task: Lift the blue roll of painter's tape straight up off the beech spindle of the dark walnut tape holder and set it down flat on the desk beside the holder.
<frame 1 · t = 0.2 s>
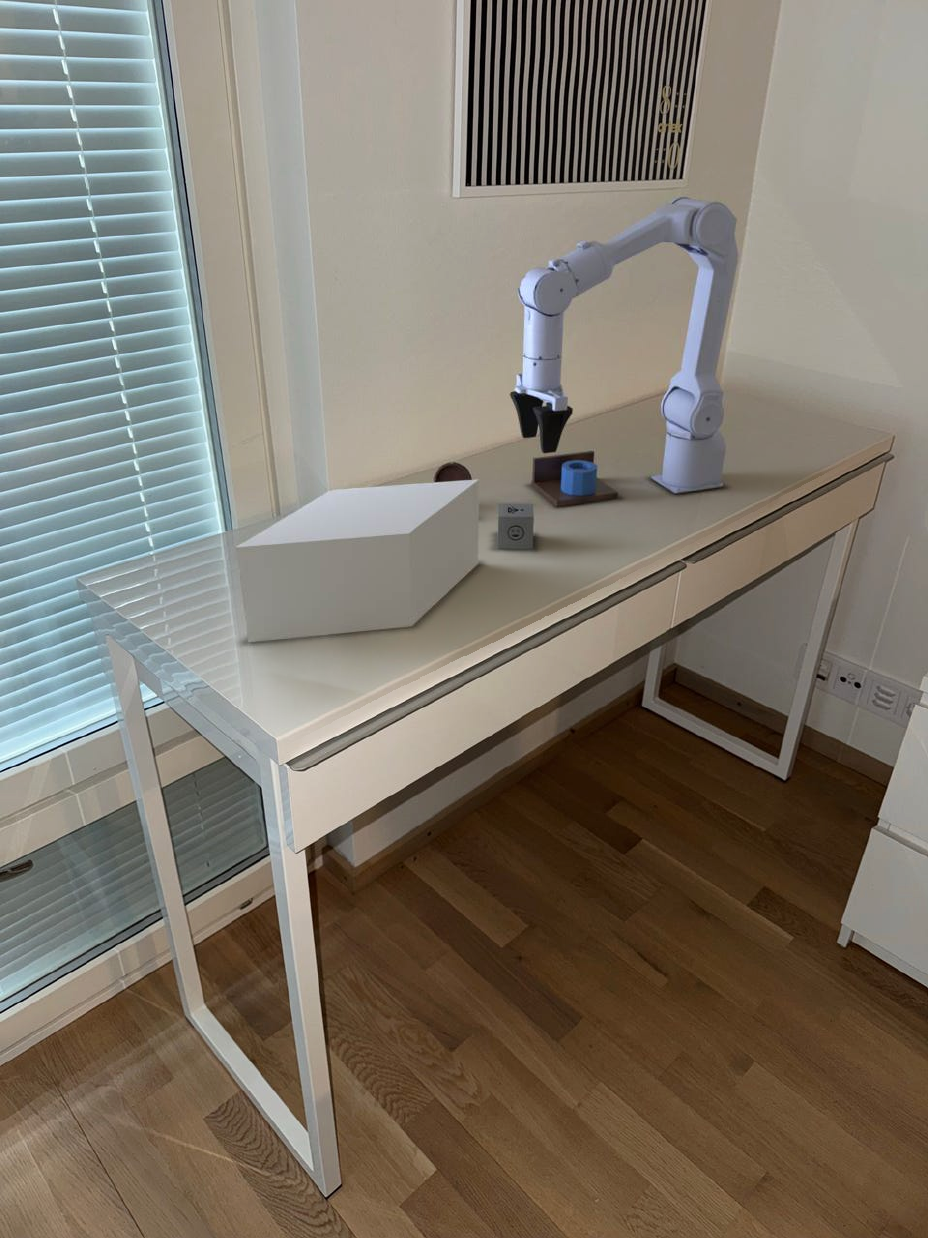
hand: (538, 444, 141), 10 cm above the table, tool pointing down, fingers open, 7 cm apart
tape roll: (578, 489, 149), point 1 cm above the table, touching holder
compass: (452, 515, 142), on the table
block: (372, 601, 117), on the table
dice cube: (514, 543, 133), on the table
holder: (573, 491, 151), on the table
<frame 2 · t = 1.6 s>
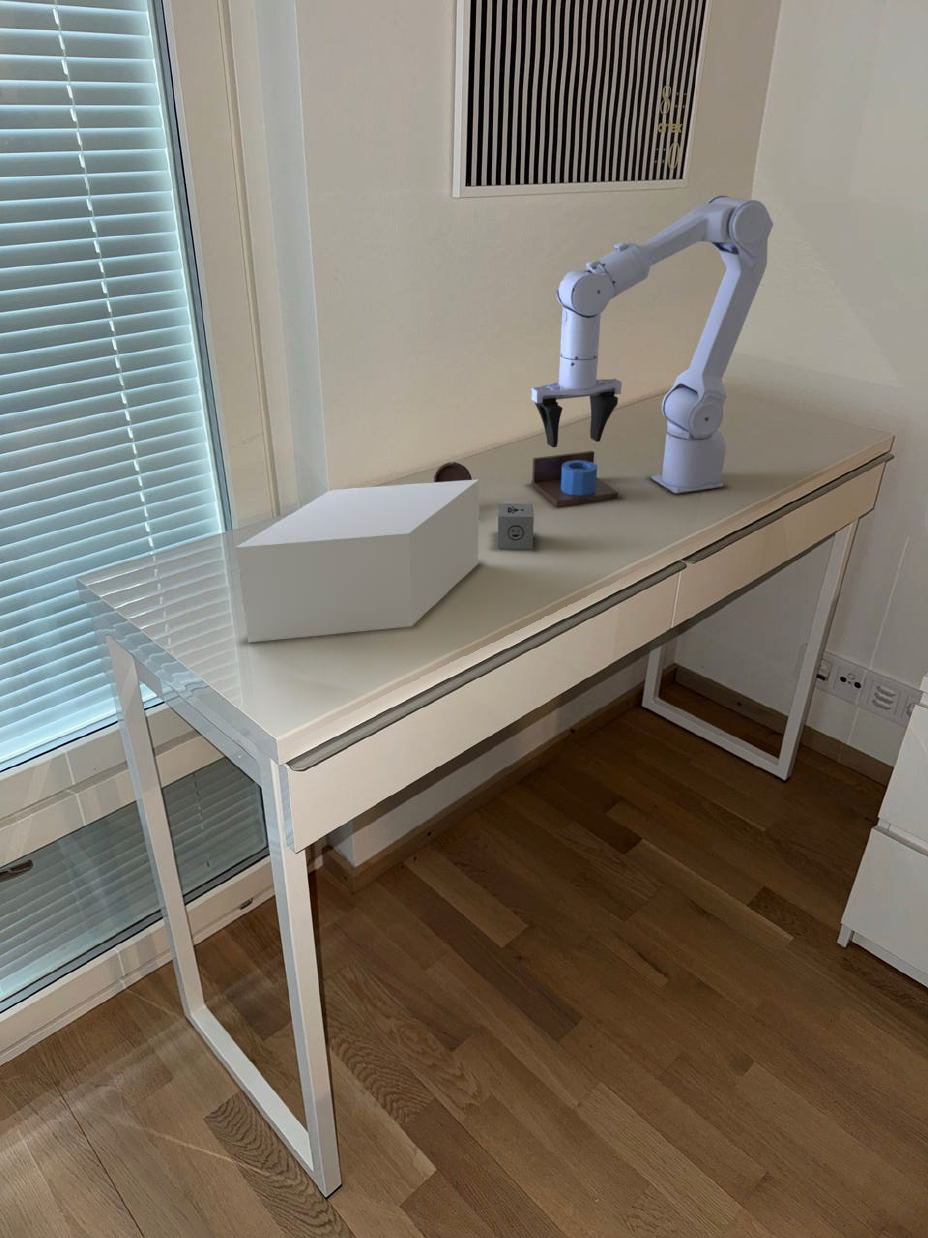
hand: (573, 442, 144), 9 cm above the table, tool pointing down, fingers open, 7 cm apart
nothing on the table moved.
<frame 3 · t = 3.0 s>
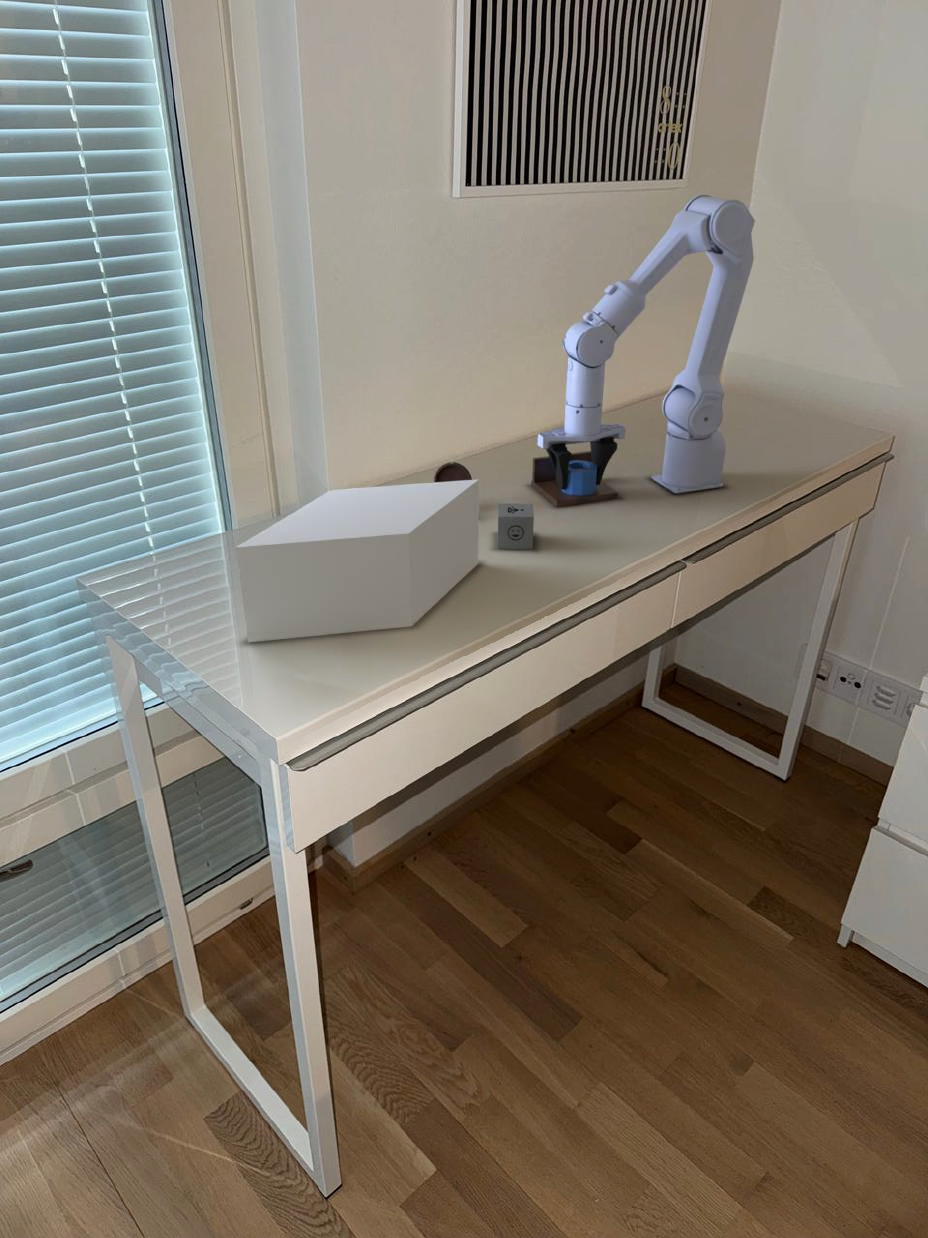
hand: (578, 485, 149), 2 cm above the table, tool pointing down, fingers closed on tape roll, 5 cm apart
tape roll: (578, 489, 149), point 1 cm above the table, touching gripper, holder
everything else where it was.
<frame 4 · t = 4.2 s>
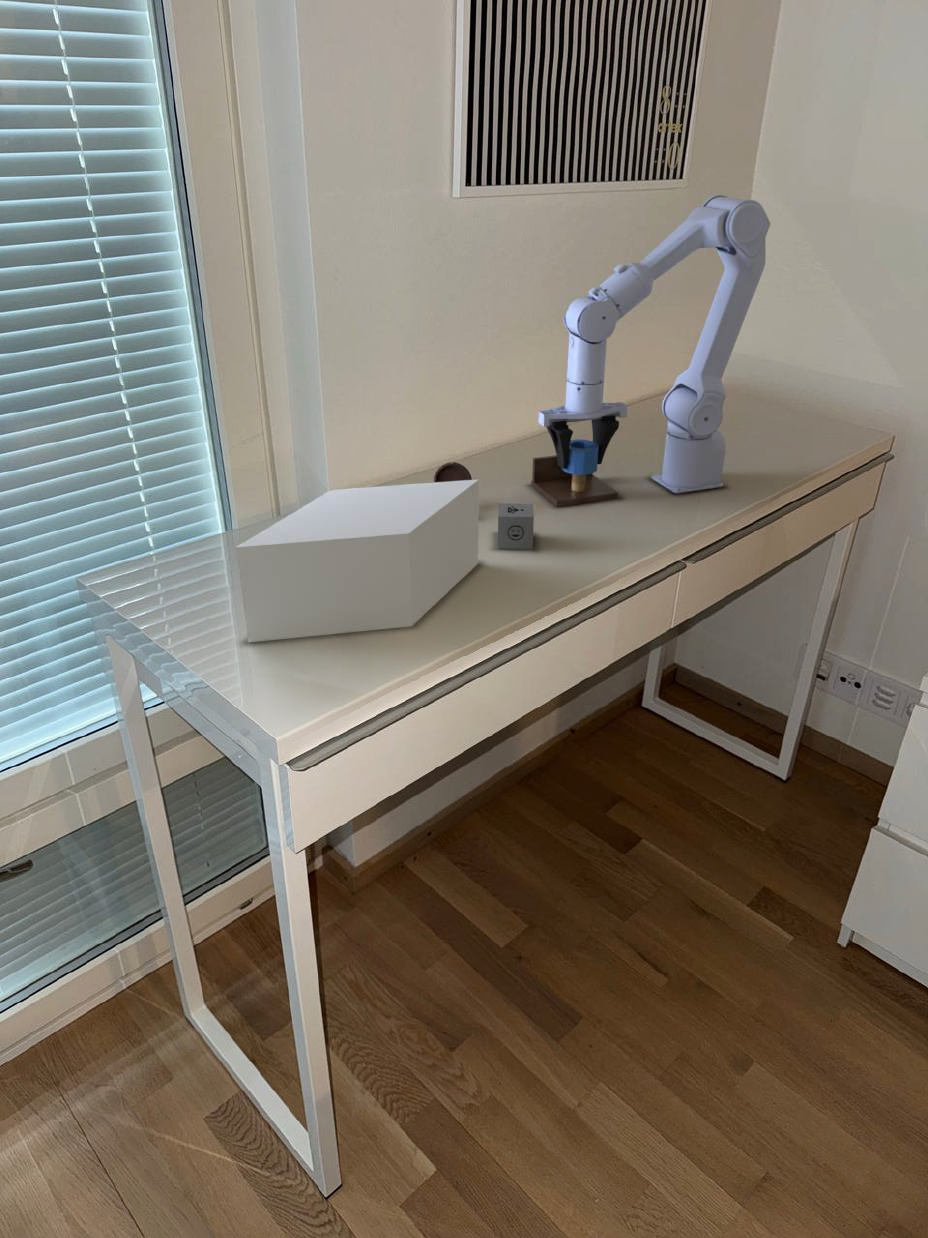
hand: (580, 464, 147), 5 cm above the table, tool pointing down, fingers closed on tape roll, 5 cm apart
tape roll: (579, 468, 147), point 5 cm above the table, touching gripper
everything else where it was.
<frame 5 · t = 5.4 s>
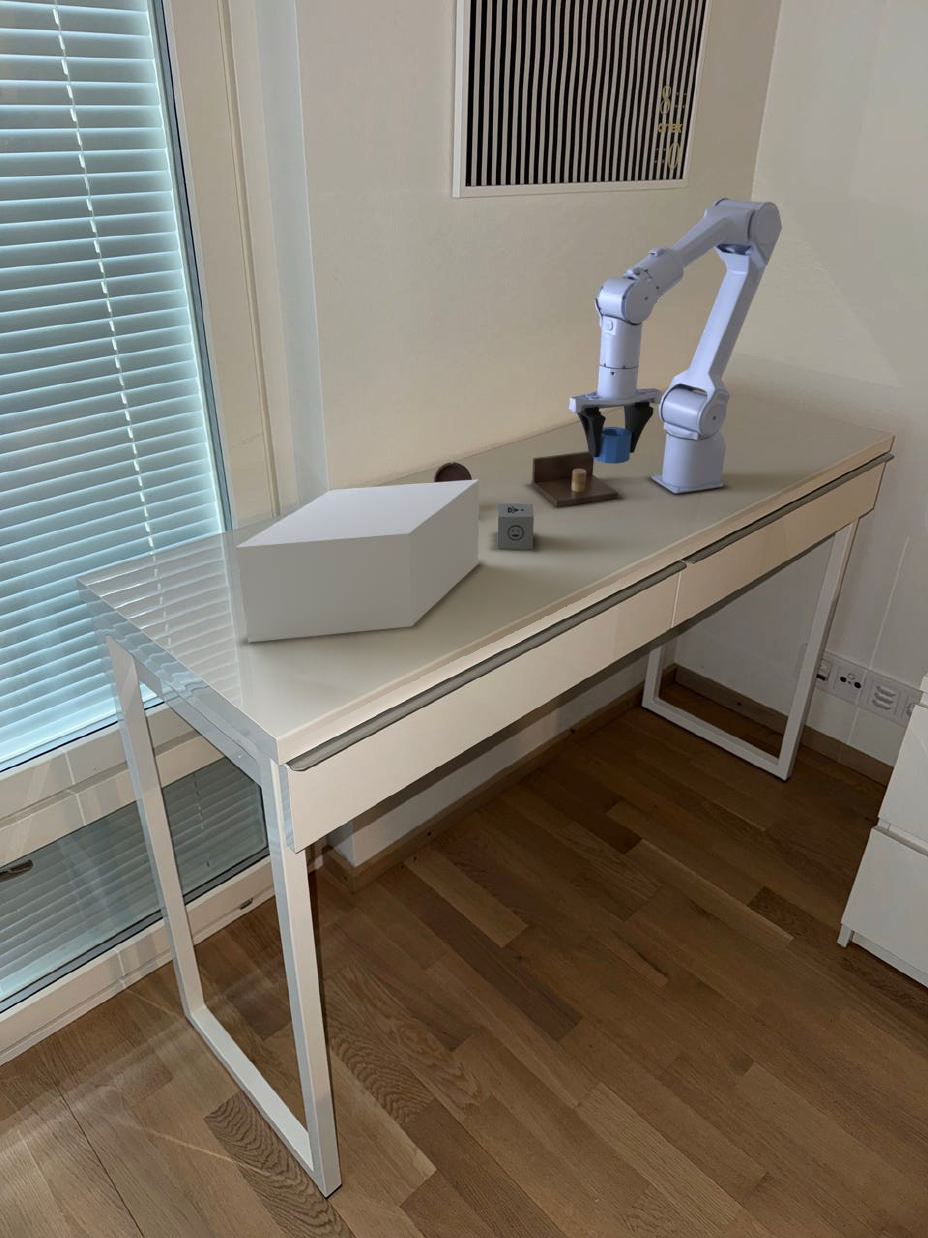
hand: (611, 453, 141), 9 cm above the table, tool pointing down, fingers closed on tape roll, 5 cm apart
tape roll: (611, 457, 141), point 8 cm above the table, touching gripper
everything else where it was.
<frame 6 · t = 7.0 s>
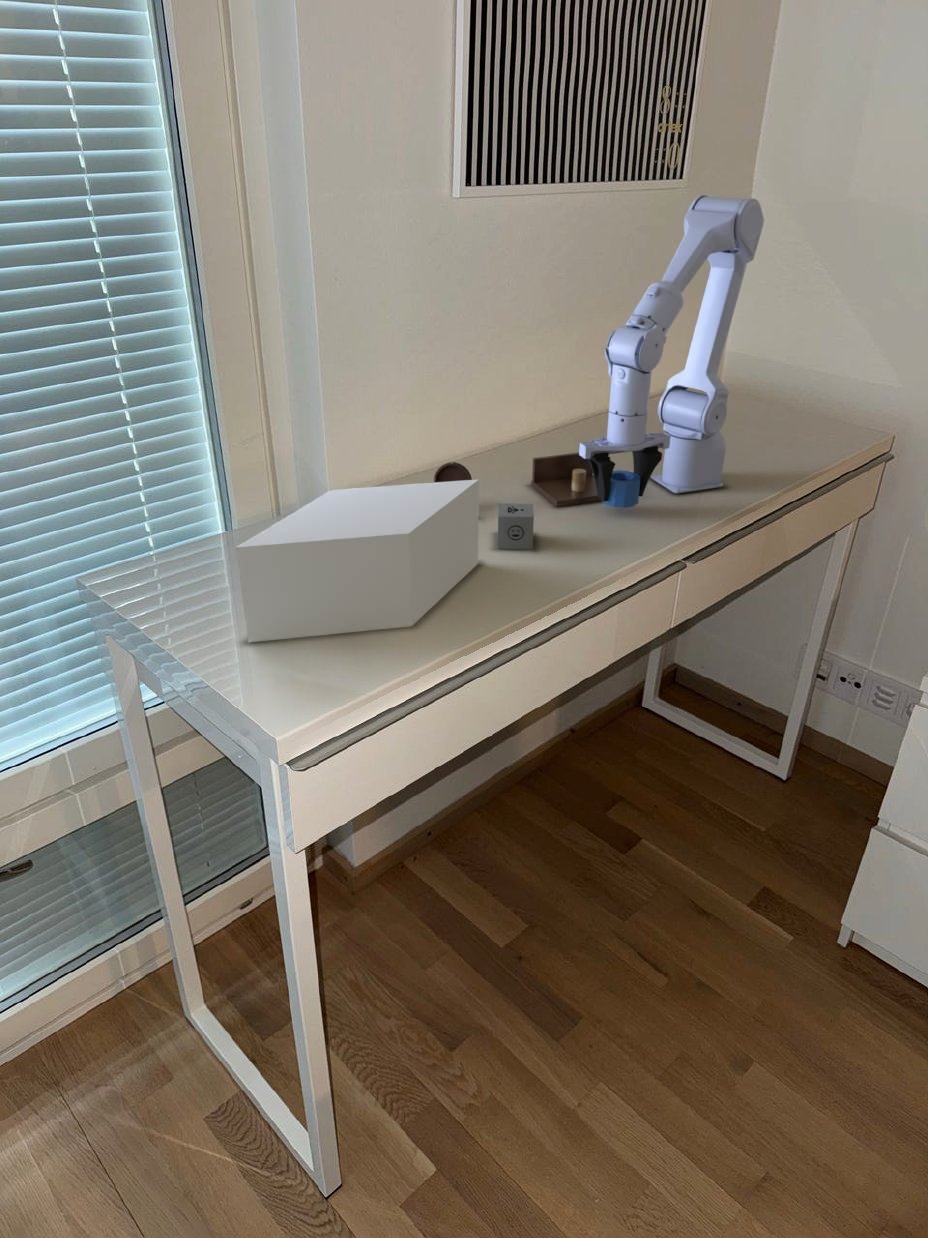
hand: (620, 496, 142), 2 cm above the table, tool pointing down, fingers closed on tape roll, 5 cm apart
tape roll: (619, 500, 142), point 2 cm above the table, touching gripper
everything else where it was.
when the fingers open (1 cm above the table, at t = 8.2 s): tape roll stays where it is, on the table.
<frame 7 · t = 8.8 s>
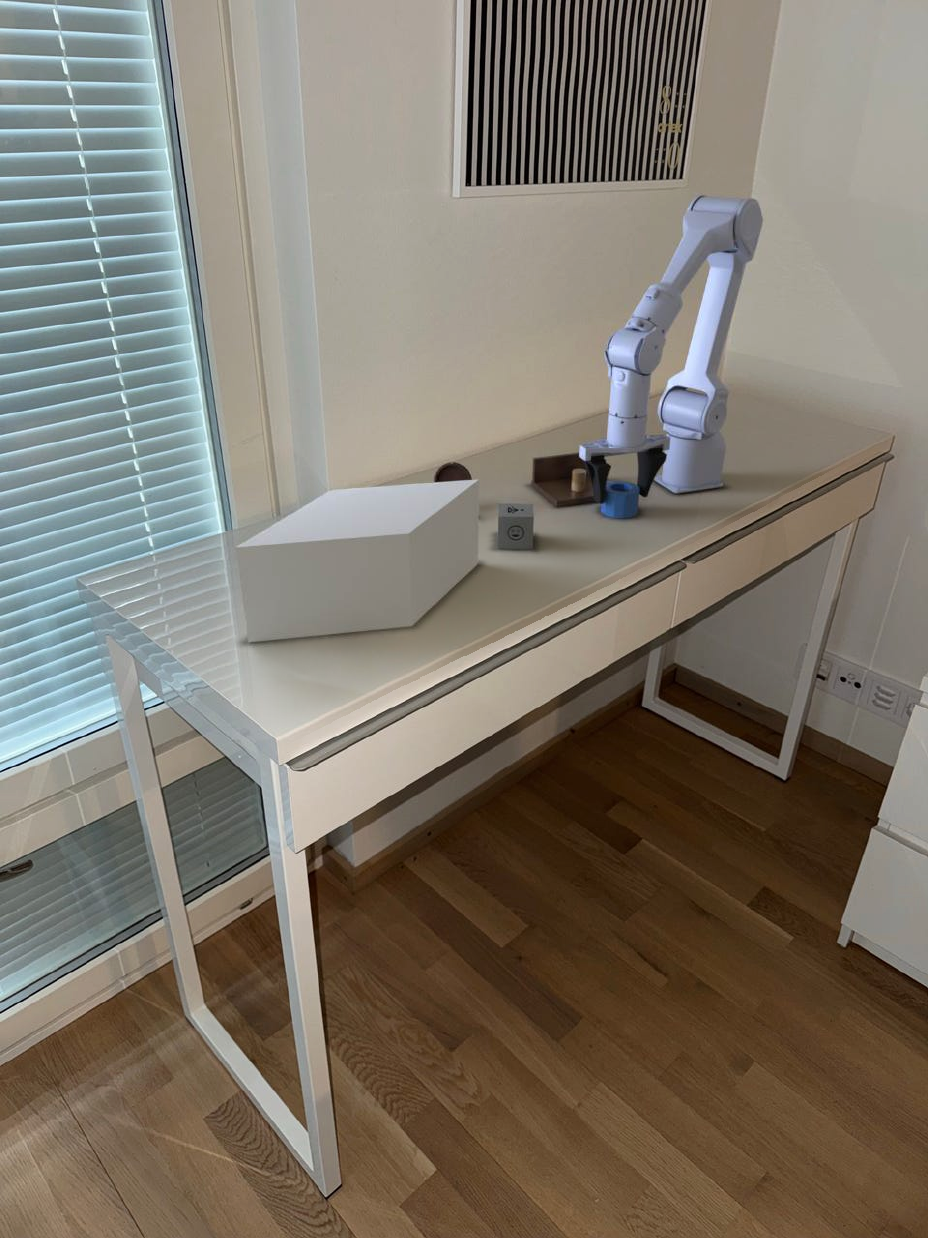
hand: (620, 498, 142), 2 cm above the table, tool pointing down, fingers open, 7 cm apart
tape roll: (619, 511, 143), on the table
everything else where it was.
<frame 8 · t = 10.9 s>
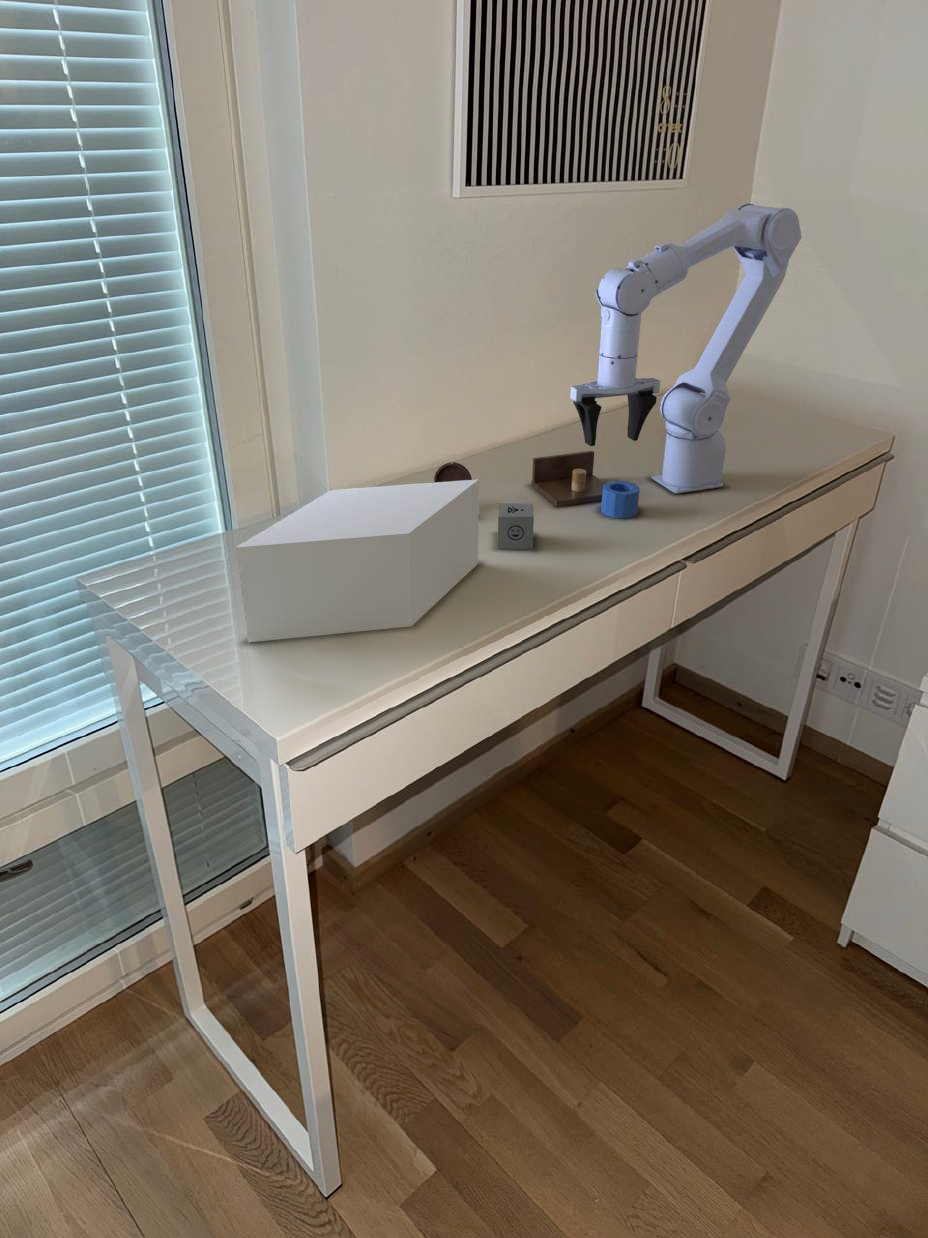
hand: (611, 441, 144), 9 cm above the table, tool pointing down, fingers open, 7 cm apart
nothing on the table moved.
at the end: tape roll touching table; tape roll inside the target area (0.6 cm from its centre), on the table; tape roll tilted 0° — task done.
